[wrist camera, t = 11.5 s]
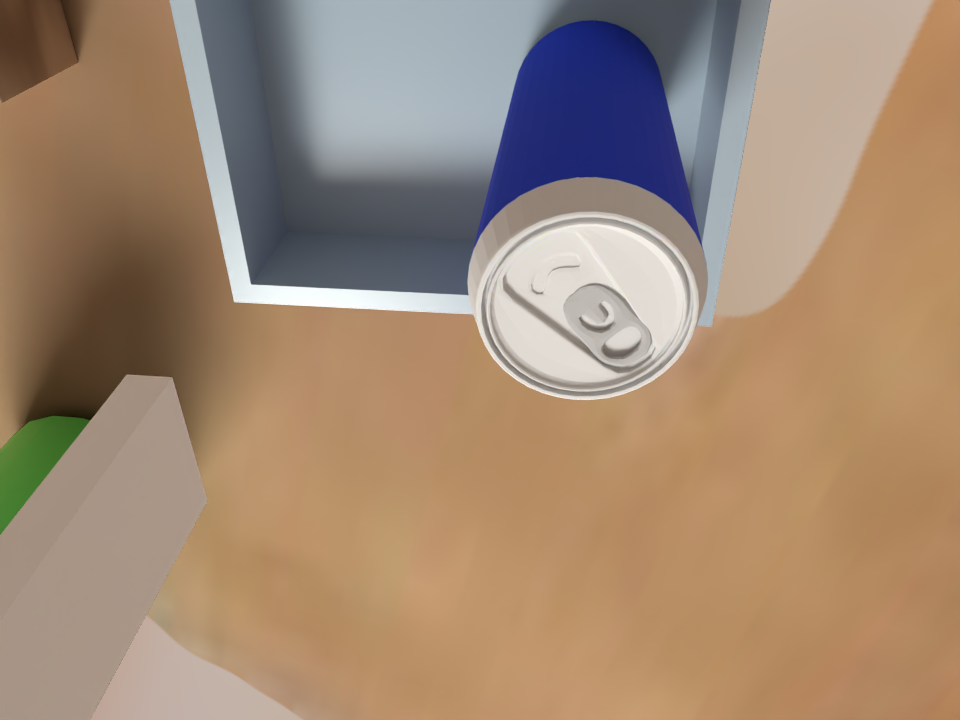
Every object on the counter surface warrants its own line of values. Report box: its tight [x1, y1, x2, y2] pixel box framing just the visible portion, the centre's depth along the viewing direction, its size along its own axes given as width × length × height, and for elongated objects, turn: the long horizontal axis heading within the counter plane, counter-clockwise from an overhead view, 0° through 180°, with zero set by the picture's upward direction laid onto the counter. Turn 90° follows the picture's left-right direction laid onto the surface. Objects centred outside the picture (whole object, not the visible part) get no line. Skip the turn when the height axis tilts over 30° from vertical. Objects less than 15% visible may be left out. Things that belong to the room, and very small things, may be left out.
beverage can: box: [467, 20, 708, 400], centre depth 23 cm, size 5×5×15 cm
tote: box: [170, 0, 771, 326], centre depth 28 cm, size 14×18×5 cm
